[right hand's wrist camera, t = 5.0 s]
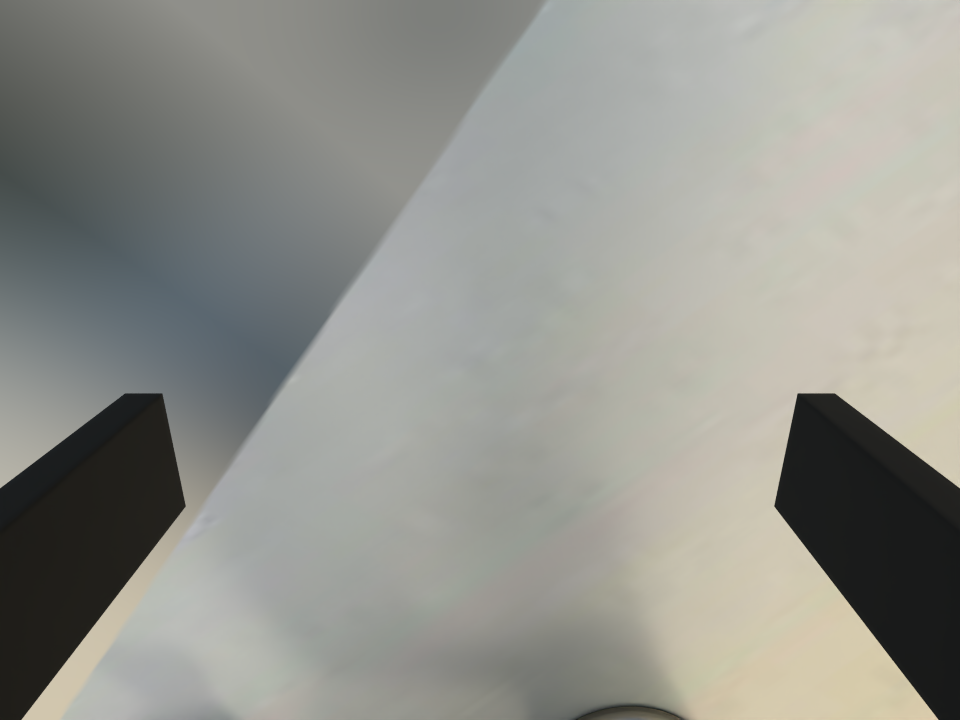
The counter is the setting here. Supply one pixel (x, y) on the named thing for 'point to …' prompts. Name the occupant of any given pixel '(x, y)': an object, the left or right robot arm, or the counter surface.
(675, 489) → the counter surface
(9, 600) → the right robot arm
